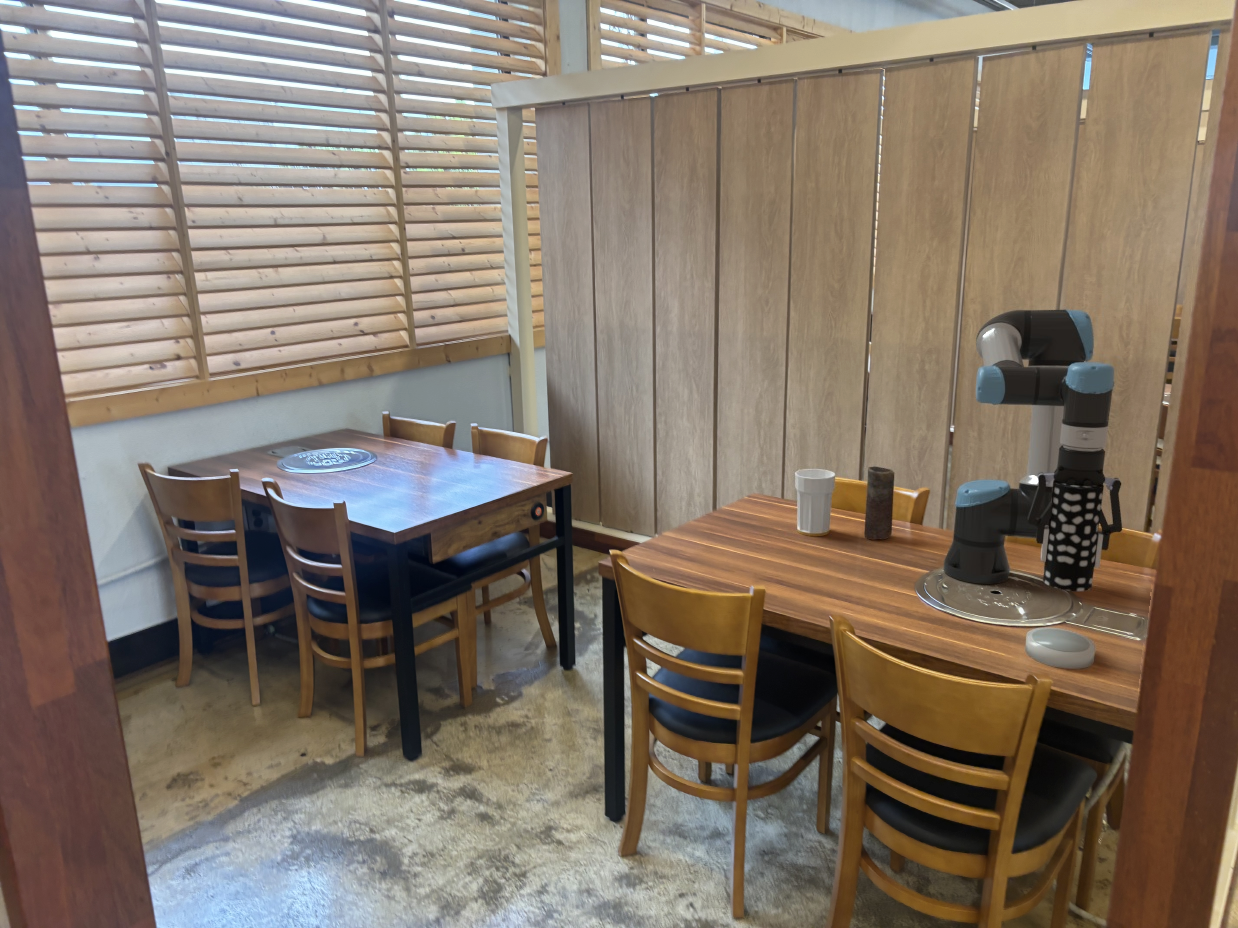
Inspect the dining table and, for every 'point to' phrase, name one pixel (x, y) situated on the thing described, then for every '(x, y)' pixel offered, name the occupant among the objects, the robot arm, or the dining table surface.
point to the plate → (1060, 648)
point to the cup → (814, 501)
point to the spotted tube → (1072, 536)
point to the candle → (879, 503)
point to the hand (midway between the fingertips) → (1069, 562)
